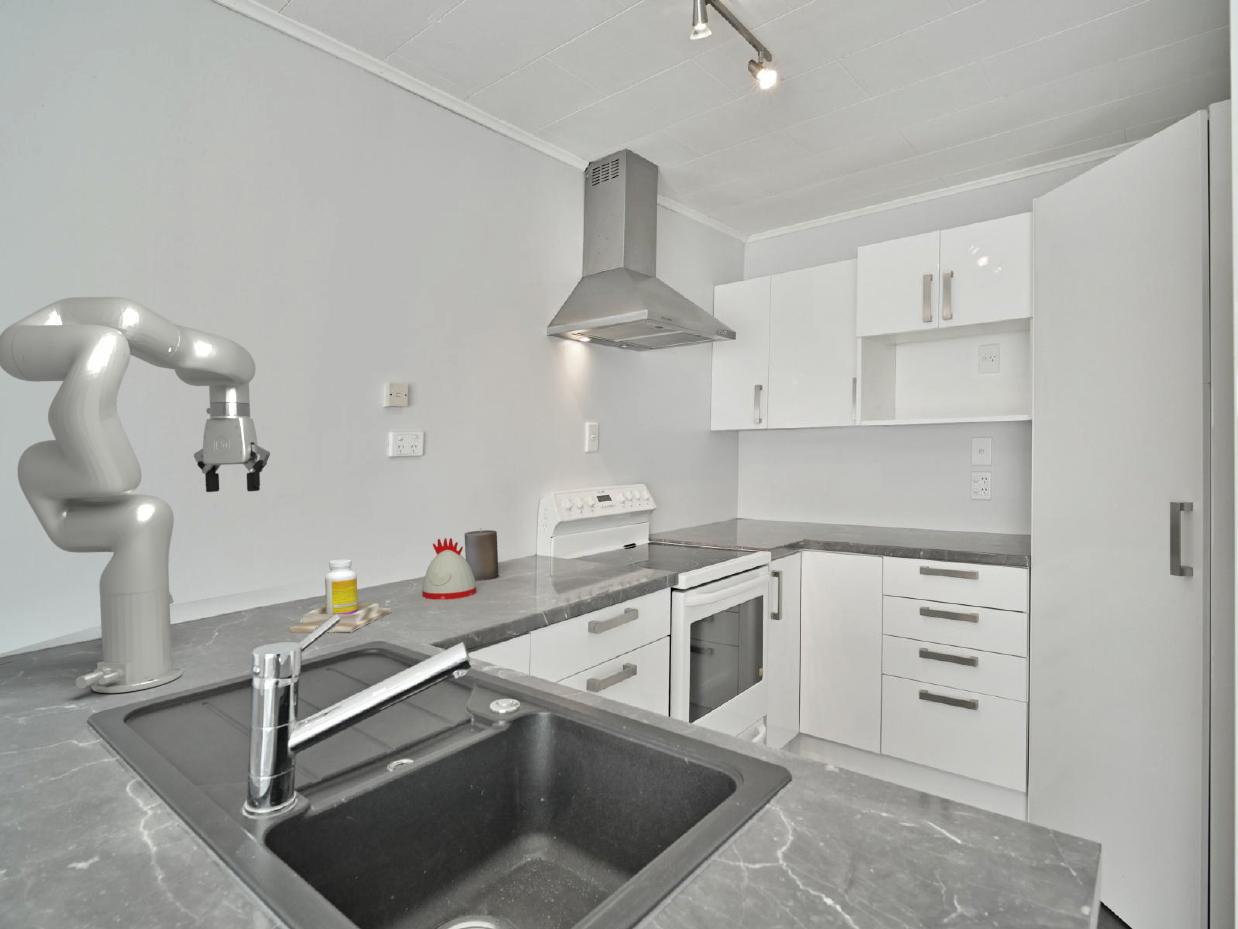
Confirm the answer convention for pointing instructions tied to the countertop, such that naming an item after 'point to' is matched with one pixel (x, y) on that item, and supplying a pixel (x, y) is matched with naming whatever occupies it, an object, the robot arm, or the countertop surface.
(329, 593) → the supplement bottle
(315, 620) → the beige flat rectangular tray
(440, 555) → the kitchen timer
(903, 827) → the countertop surface
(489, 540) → the pillar candle
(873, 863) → the countertop surface
